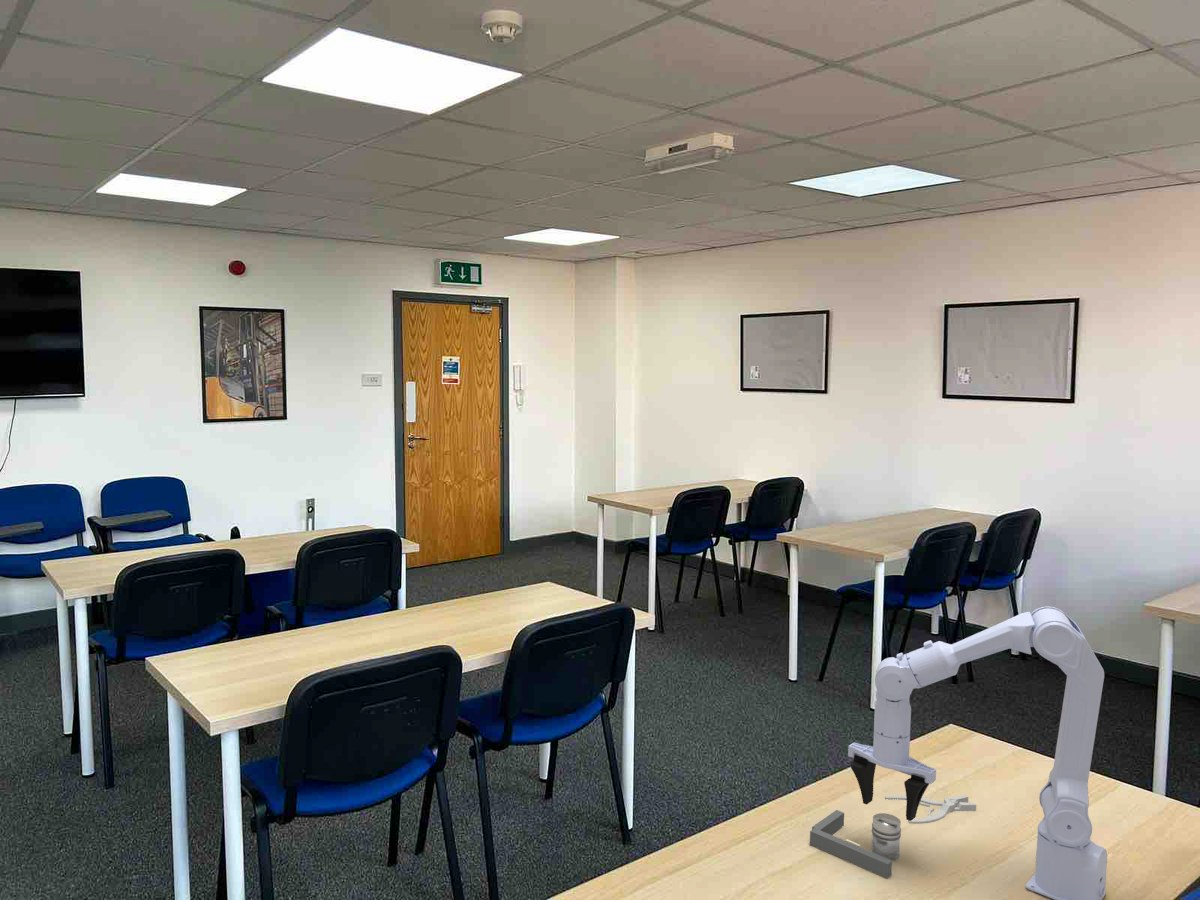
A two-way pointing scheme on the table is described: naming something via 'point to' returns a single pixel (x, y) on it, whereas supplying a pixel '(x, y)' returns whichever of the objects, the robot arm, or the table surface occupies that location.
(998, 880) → the table surface
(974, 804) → the pliers
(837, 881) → the table surface
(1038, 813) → the table surface
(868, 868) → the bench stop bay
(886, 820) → the piston
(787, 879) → the table surface
